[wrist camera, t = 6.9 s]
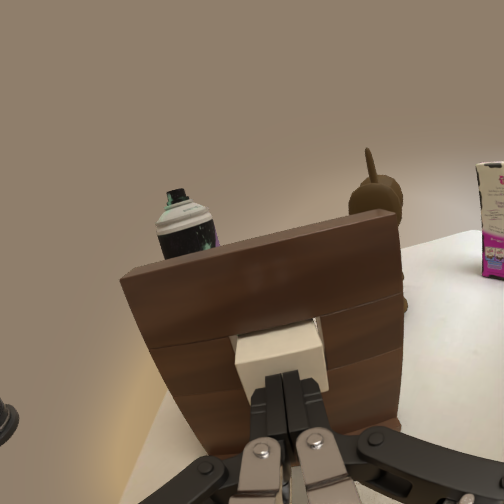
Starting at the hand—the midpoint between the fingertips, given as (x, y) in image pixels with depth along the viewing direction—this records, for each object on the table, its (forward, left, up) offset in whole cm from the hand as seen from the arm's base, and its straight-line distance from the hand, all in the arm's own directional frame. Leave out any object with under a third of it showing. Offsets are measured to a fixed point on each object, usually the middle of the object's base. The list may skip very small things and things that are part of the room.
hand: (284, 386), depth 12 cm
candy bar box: (+17, +35, -10) cm, 40 cm away
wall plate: (-3, +4, -10) cm, 11 cm away
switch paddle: (-1, +1, -1) cm, 2 cm away
